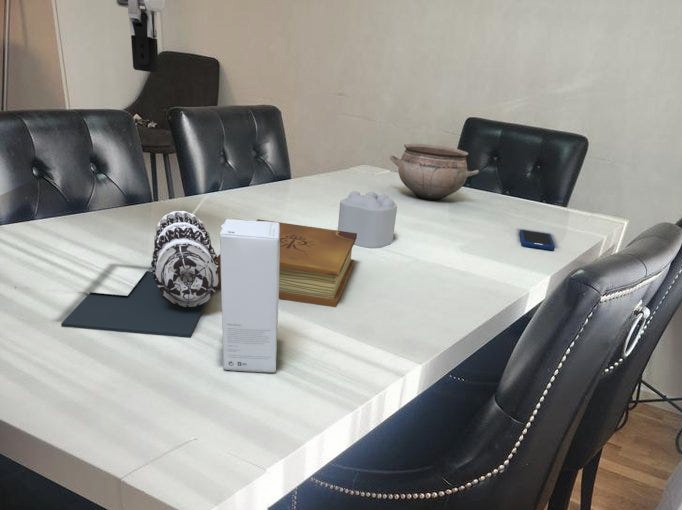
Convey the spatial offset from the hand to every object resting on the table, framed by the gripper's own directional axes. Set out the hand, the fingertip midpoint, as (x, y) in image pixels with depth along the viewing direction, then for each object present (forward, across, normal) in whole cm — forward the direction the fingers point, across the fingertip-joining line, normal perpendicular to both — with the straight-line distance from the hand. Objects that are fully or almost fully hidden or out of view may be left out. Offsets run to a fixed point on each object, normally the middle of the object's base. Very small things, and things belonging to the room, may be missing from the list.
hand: (146, 70), depth 92 cm
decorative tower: (+23, 0, +4) cm, 23 cm away
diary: (+27, +1, +22) cm, 35 cm away
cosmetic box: (+27, +36, +19) cm, 49 cm away
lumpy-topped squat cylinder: (+27, -30, +36) cm, 54 cm away
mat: (+27, +19, +3) cm, 33 cm away
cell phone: (+26, -43, +76) cm, 91 cm away
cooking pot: (+26, -83, +56) cm, 103 cm away
